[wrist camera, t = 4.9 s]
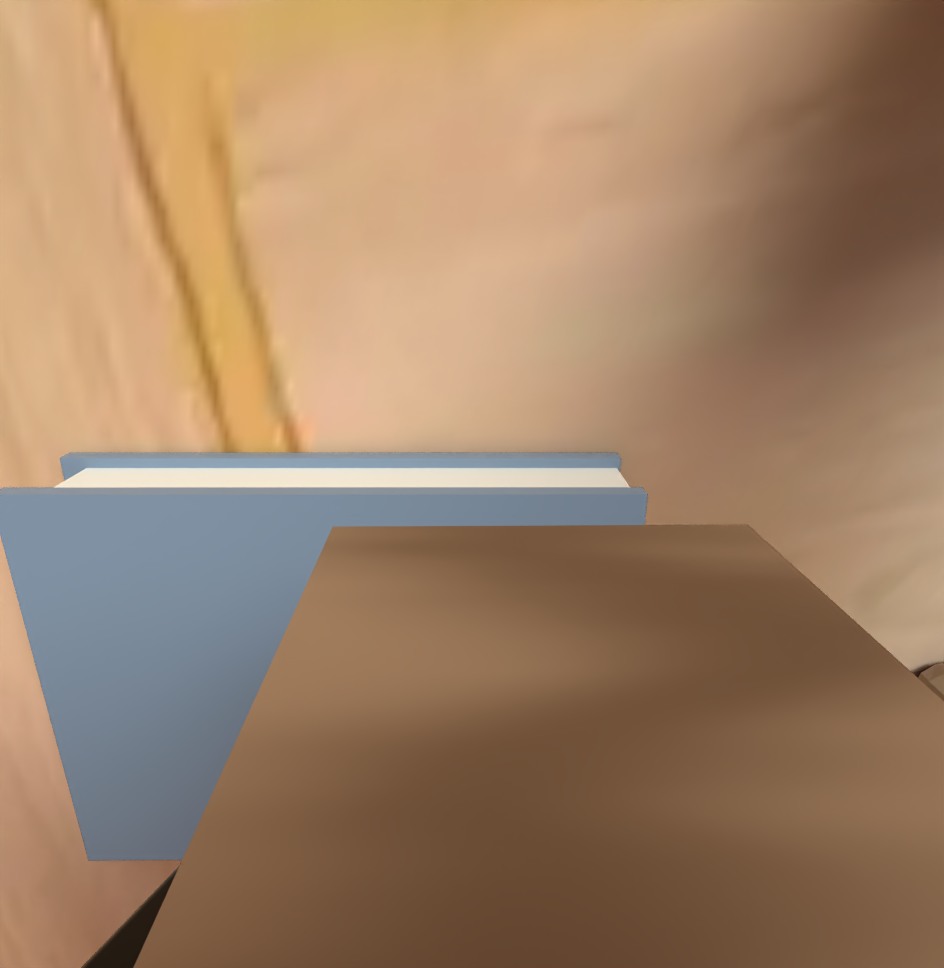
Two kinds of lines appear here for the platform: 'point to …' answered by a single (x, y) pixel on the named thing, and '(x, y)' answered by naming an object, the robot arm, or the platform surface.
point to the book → (221, 596)
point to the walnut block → (569, 767)
